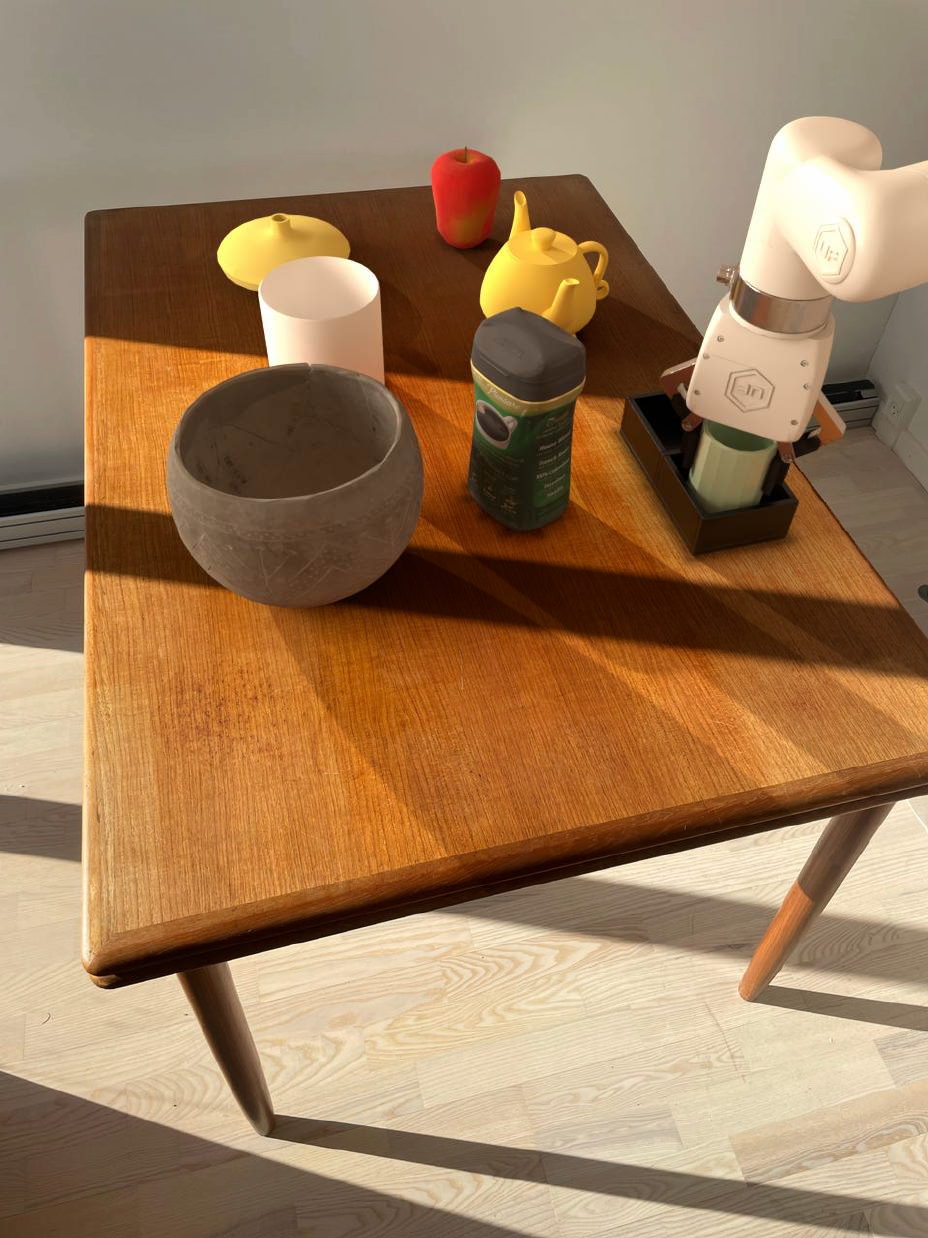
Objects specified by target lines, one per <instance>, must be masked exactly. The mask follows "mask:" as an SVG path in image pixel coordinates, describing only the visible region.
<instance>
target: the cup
mask: <svg viewBox="0 0 928 1238" xmlns="http://www.w3.org/2000/svg"><path fill="white" fill-rule="evenodd" d="M380 287H381V286H380V282H379V280H378V278H377V276H376V275H375V274H374V273H373V272H372V271H371V270H370V269H369V268H368V267H366V266H364V265H363V264H361V263H358V262H356V261H354V260H352V259H349V258H348V259H343V258H338V257H329V256H316V257H307V258H301V259H297V260H293V261H290V262H287V263H284V264H282V265H280V266H278V267H277V268H275V269H273V270H272V271H271V272H270V273H268V274H267V275H266V277H265V278H264V279H263V280H262V282H261V284H260V287H259V292H258V300H259V307H260V312H261V313H260V314H261V320H262V327H263V332H264V339H265V345H266V351H267V357H268V364H269V367H270V366H276V365H282V364H292V363H308V364H309V366H310V365H311V364H326V365H331V366H335V367H340V368H344V369H348V370H351V371H355V372H358V373H359V374H360V373H362V374H365V375H367V376H370V377H372V378H373V379H375V380H377V381H379V382H381V383H382V384H383V385H384V386H385V387H386V383H385V366H384V365H385V363H384V346H383V345H384V344H383V327H382V323H383V322H382V305H381V288H380Z"/></svg>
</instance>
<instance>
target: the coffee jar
mask: <svg viewBox="0 0 928 1238" xmlns="http://www.w3.org/2000/svg"><path fill="white" fill-rule="evenodd" d="M586 357H587V356H586V347H585V345H584V344H583V342H581V341H580V340H579V339H578V338H575V337H574V336H572V335H571V334H569V333H568V332H567V331H565V330H564V329H562V328H561V327H559V326H557V325H556V324H554V323H552V322H551V321H549V320H548V319H546V318H544V317H542V316H540V315H538V314H535V313H533V312H530V311H527V310H523V309H522V308H521V307H514V308H511V309H508V310H506V311H503V312H500V313H498V314H495V315H493V316H491V317H489V318H487V317H486V318H485V319H484V320H482V321H481V322H480V324H479V326H478V328H477V329H476V331H475V334H474V338H473V344H472V349H471V355H470V368H471V374H472V380H473V386H474V411H473V424H472V434H471V435H472V436H471V437H472V438H471V446H470V455H469V463H468V471H467V472H468V473H467V490H468V493H469V495H470V496H471V498H472V499H473V500H474V501H475V502H476V503H477V505H478V506H479V507H480V508H481V509H482V510H483V511H485V512H486V513H487V515H490V516H491V517H492V519H494V520H496V521H497V522H498V523H500V524H502V525H503V526H504V527H506V528H508V529H510V530H512V531H517V532H528V531H533V530H534V531H535V530H538V529H541V528H544V527H546V526H547V525H550V524H551V523H553V522H554V521H556V520H558V519H559V517H561V516H562V515H564V513H565V512H566V510H567V509H568V507H569V503H570V494H571V483H572V482H571V481H572V478H571V477H572V449H573V437H574V436H573V435H574V418H575V409H576V405H577V400H578V398H579V396H580V394H581V393H582V391H583V388H584V386H585V382H586V369H587V367H586Z"/></svg>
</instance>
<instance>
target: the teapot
mask: <svg viewBox="0 0 928 1238" xmlns="http://www.w3.org/2000/svg"><path fill="white" fill-rule="evenodd" d="M590 252H597V253H599V258H598V263H597V266H596V268H595V271H594V272H592V270H591V268H590V265H589V263H588V261H587V259H586V257H585V255H584V254H586V253H590ZM608 263H609V253H608V250H607V248H606V247H605V246H604V244H601V243H599V242H598V241H594V240H589V241H588V240H587V241H584V242H581V243H579V244H577V242H576V241H575V240H574V239H573V238H571V237H570V236H568V235H566V234H564V233H562V232H559V231H555V230H554V229H552V228H549V227H536V228H534V229H532V227H531V221H530V216H529V209H528V202H527V199H526V195H525V194H524V192H522V191H521V190H517V191H515V193H514V217H513V222H512V227H511V232H510V235H509V237H508V240H507V241H506V242H505V243H504V245H503V246H502V247H501V249H500V250H499V251H498V252H497V254H496V255H495V256H494V257H493V259H492V261H491V262H490V265H489V266H488V268H487V270H486V272H485V275H484V278H483V281H482V284H481V289H480V297H479V304H480V308H481V310H482V313H483V315H484V316H485V318H486V319H487V318H489V317H491V316H493V315H495V314H498V313H500V312H503V311H506V310H508V309H511V308H514V307H521V308H522V309H523V310H527V311H530V312H533V313H535V314H538V315H540V316H542V317H544V318H546V319H548V320H549V321H551V322H552V323H554V324H556V325H557V326H559V327H561V328H562V329H564V330H565V331H567V332H568V333H569V334H571V335H572V336H574V337H575V338H577V335H576V333H578V332H579V331H580V330H582V329H583V328H584V327H585V326H586V325H587V324H589V322H590V321H591V319H592V318H593V316H594V314H595V312H596V307H597V301H601V300H602V299H605V298H606V297H607V296H608V295H609V292H610V285H609V283H608V282H607V281H606V280H604V279H603V277H604V275H605V273H606V270H607V267H608V265H609V264H608ZM599 288H600V289H599ZM577 339H578V338H577Z"/></svg>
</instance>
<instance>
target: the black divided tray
mask: <svg viewBox="0 0 928 1238" xmlns="http://www.w3.org/2000/svg"><path fill="white" fill-rule="evenodd" d="M684 388H686V389H689V385H686V386H684ZM698 393H699V392H698ZM670 401H671V399H670V398H669V397H668V396H667V394H666V393H665V391H664V389H663V390H656V391H649V392H644V393H637V394H629V395H626V396H625V400H624V406H623V410H622V417H621V423H620V428H619V434H620V436H621V437H622V439H623V441H624V443H625V444H626V446H627V448H628V449H629V451H630V453H631V454H632V456H633V458H634V460H635V461H636V463H637V465H638V466H639V468H640V470H641V472H642V473H643V475H644V476H645V478H646V480H647V482H648V483H649V485H650V486H651V488H652V489H653V491H654V493H655V495H656V497H657V498H658V500H659V502H660V504H661V505H662V507H663V508H664V510H665V513H667V515H668V518H670V520H671V522H672V523H673V525H674V527H675V529H676V530H677V533H678V534H679V535H680V537H681V539H682V540H683V542H684V544H685V545H686V547H687V549H688V550H689V552H690V554H691V555H692V556H693V557H695V556H700V555H705V554H710V553H716V552H721V551H725V550H731V549H736V548H741V547H747V546H751V545H757V544H761V543H767V542H772V541H777V540H781V539H786V538H787V536H788V532H789V530H790V527H791V525H792V522H793V521H794V520H793V519H794V517H795V514H796V513H797V509H798V507H799V504H800V500H799V498H798V497H797V496H796V494H795V493H794V492H793V491H792V489H791V487H789V485H788V483H787V482H786V480H784V483H783V485H779V484H776V483H775V484H774V487H773V489H772V491H771V493H770V495H769V496H767V495H764V494H763V497H762V499H761V502H760V504H759V505H753V506H748V507H743V508H737V509H732V510H727V511H721V512H716V513H711V514H706V513H705V511H704V510H703V508H702V507H701V505H700V503H699V502H698V500H697V499H696V497H695V495H694V494H693V492H692V491H691V489H690V488H689V486H688V484H687V481H688V477H689V473H690V469H691V467H690V468H689V467H688V468H684V467H682V463H683V459H684V455H685V453H682V452H679V450H680V446H681V442H682V438H683V434H684V429H683V428H682V425H681V424H682V420H681V419H680V417H679V416H678V414H677V413H676V411H675V410H674V408H673V407H672V405H671V402H670ZM691 466H692V465H691Z"/></svg>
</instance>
